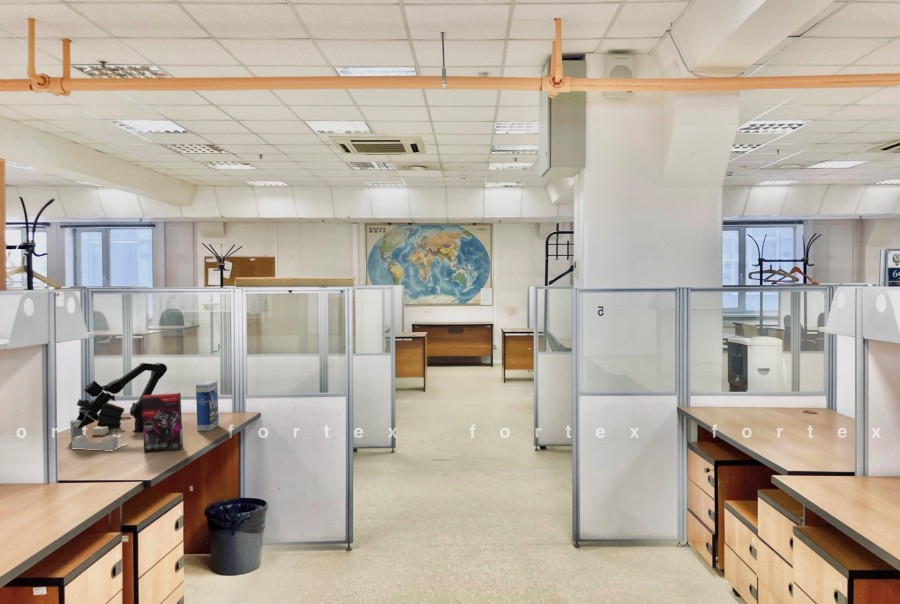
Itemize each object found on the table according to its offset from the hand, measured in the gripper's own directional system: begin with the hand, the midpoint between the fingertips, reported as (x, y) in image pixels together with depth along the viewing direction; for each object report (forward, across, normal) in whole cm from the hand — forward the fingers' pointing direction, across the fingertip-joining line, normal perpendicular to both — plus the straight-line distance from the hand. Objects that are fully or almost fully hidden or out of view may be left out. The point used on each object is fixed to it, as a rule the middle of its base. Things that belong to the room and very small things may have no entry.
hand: (76, 426), depth 319 cm
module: (+6, 0, +6) cm, 8 cm away
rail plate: (+2, +20, +10) cm, 22 cm away
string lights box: (-37, +21, +48) cm, 64 cm away
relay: (-3, -8, +15) cm, 17 cm away
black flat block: (-9, -19, +21) cm, 30 cm away
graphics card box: (-13, +49, +25) cm, 56 cm away
